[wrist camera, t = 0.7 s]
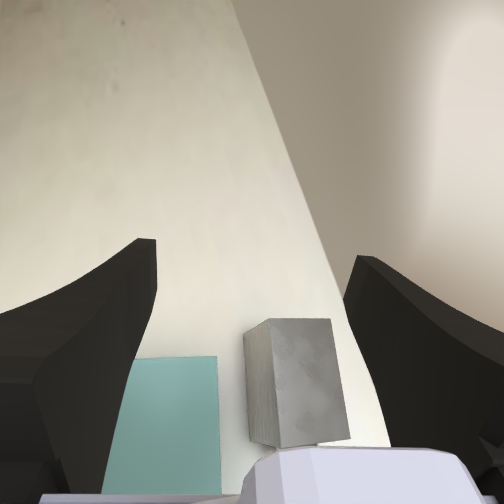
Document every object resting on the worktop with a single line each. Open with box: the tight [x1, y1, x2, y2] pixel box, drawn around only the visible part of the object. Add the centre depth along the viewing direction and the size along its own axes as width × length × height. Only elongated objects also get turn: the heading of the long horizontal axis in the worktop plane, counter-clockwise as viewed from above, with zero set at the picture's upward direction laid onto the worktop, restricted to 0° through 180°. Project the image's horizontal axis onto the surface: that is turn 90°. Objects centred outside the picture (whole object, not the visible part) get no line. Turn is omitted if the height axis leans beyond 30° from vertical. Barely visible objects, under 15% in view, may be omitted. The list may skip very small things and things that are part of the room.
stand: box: [101, 356, 221, 494], centre depth 23 cm, size 10×10×2 cm
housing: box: [243, 318, 351, 451], centre depth 26 cm, size 9×5×6 cm, turn 4°
